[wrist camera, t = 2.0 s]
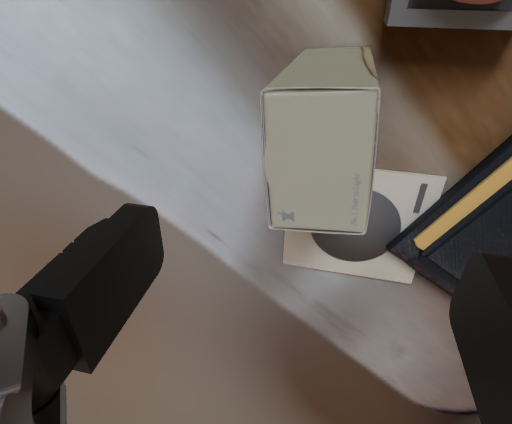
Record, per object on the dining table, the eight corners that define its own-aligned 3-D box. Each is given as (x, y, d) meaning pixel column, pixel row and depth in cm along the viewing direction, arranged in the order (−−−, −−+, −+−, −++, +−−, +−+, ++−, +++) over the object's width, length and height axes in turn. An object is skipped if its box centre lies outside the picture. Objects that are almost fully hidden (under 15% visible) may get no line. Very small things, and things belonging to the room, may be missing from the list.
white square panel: (445, 176, 25) (447, 178, 25) (410, 281, 30) (411, 284, 30) (290, 160, 27) (289, 162, 27) (283, 261, 32) (282, 264, 32)
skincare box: (362, 140, 25) (370, 242, 15) (299, 139, 26) (266, 234, 16) (371, 41, 22) (388, 86, 12) (298, 45, 23) (256, 89, 13)
